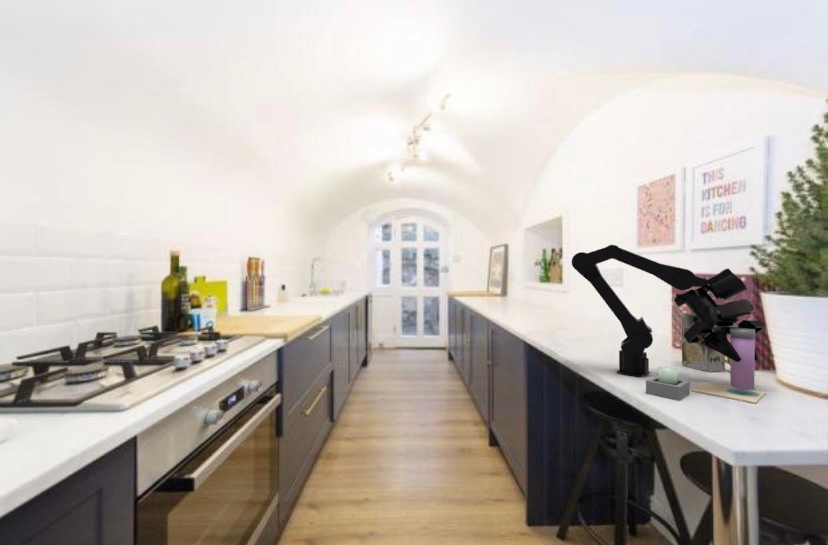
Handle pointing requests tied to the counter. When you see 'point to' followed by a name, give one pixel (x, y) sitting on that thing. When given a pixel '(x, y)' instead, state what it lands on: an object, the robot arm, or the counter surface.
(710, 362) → the coffee box
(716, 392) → the beige coaster
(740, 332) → the purple canister
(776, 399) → the counter surface
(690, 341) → the robot arm
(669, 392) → the button housing
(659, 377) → the button
